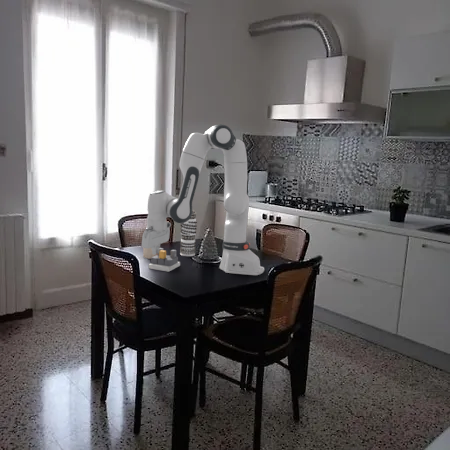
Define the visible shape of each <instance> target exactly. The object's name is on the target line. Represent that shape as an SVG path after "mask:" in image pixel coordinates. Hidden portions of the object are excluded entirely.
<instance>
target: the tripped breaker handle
mask: <svg viewBox="0 0 450 450" xmlns="http://www.w3.org/2000/svg"><path fill="white" fill-rule="evenodd" d="M166 255H167V250H161V251H159V258H162V259H164V258H166Z"/></svg>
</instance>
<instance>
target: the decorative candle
mask: <svg viewBox="0 0 450 450" xmlns="http://www.w3.org/2000/svg"><path fill="white" fill-rule="evenodd" d="M196 215H197V212H196V211H195V210H194V209H192V216H191V218H190V219H189V220H188V221H187V222H185V223H180V235H181V238H180V248H179V249H180V250H179V254H180V255H181V256H182V257H194V256H195V255H196V247H197V246H196V243H197V242H196V235H197V231H196V230H197V227H198V225H197V224H198V221H197V218H196V217H197V216H196Z"/></svg>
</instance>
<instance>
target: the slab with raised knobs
mask: <svg viewBox="0 0 450 450" xmlns="http://www.w3.org/2000/svg"><path fill="white" fill-rule="evenodd" d="M164 249H165V248H163V247H160V248H159V251H161V250H164ZM150 261H151V263H149V264H148V269H150V270H156V271H162V272H170V271H173V270H175V269H176V268H178V267H180V266H181V261H179V257H178V256H177V250H176V249H171V250H170V255H167V254H166V258H164V259H162V258H159V253H158V255H156V256H154V257H152V258H151V259H150Z"/></svg>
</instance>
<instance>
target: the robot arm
mask: <svg viewBox="0 0 450 450" xmlns="http://www.w3.org/2000/svg"><path fill="white" fill-rule="evenodd" d="M212 149H213V150H219V149H220V150H221V152H223V153H222V154H223V161H224V162H223V163H224V184H223V185H224V187H223V207H224V210H225V211H226V214H225V220H224V227H223V228H224V229H223V231H224V233H223V240H222V254H221V255H222V257H221V261H220V264H219V267H218V269H220V270H222V271H223V272H225V274H226V273H227V274H228V273H229V274H236V275H246V276H247V275H248V276H258V275H259V276H260V275H261V274H263V273H264V272H265V267H264V266H261V261H260V258H259V256H258V255H256V254H255V252H253V251H252V250H251V248H250V246H251V243H250V242H248V241H247V230H248V229H247V228H248V218H249V209H250V197H249V195H248V157H247V151H246V150H247V149H246V145H245V142H244V141H243V140H241V139H238V138H236V136H235V134H234V133H233V131H232V129H231V127H229V126H228V125H226V124H215V125H212V126H210V127H209V128H208V129H206V130H205V131H204V132H203V133H201V132H193V133H191V134H190V135H189V137H188V138H187V140H186V141H185V144H184V147H183V149H182V152H181V155H180V158H179V166H178V168H179V169H180V172H181V174H182V177H183V181H182V184H181V188H180V192H179V195H178V197H175V196H173V195H171V194H169V193H168V192H166V190H154V191H152V192H150V193H149V195H148V200H147V217H146V227H145V230H144V232H143V233H142V236H141V237H142V238H141V247H142V248H151V249H152V254H154V255H155V254H157V253H159V248H161V244H164V243H166V242H169V239H170V232H171V231H170V229H171V225H172V224H171V222H169V221H167V218H171V219H172V221H174V222H175V223H177V224H181V223H185V222H187V221H188V220H189V219H190V218H191V216H192V210H193V200H194V196H195V192H196V189H197V186H198V182H199V177H200V174H201V171H202V167H203V165H204V163H205V159H206V156H207V154H208V153H209V152H208V151H210V150H212Z"/></svg>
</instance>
